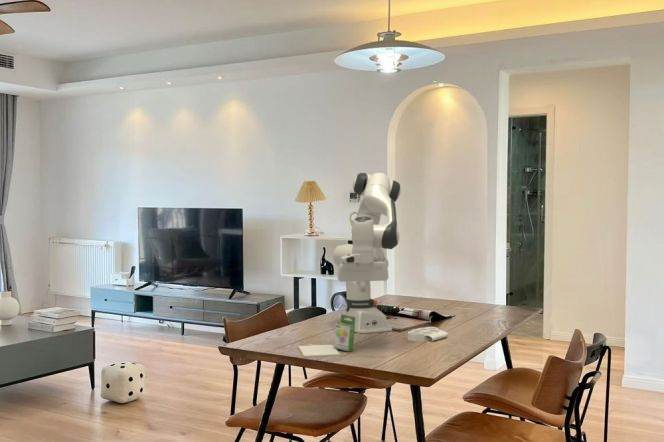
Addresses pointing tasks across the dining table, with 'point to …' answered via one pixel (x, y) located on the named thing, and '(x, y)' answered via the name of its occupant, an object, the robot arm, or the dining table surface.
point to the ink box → (344, 333)
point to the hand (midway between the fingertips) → (363, 292)
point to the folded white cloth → (426, 334)
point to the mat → (318, 350)
